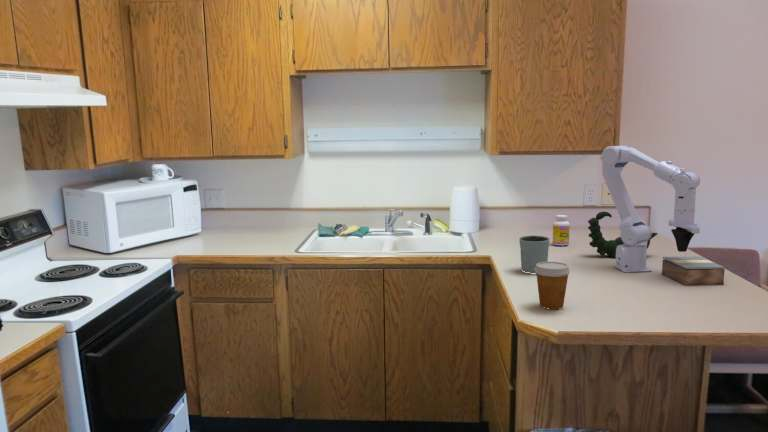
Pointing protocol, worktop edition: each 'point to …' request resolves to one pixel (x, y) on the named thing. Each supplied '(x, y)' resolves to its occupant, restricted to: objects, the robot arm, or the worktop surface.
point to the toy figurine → (599, 241)
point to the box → (693, 275)
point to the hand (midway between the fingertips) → (682, 251)
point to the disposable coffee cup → (552, 283)
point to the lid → (693, 263)
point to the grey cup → (533, 251)
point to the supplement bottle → (561, 230)
